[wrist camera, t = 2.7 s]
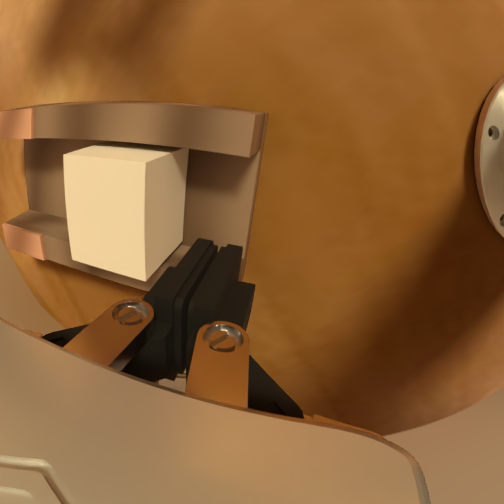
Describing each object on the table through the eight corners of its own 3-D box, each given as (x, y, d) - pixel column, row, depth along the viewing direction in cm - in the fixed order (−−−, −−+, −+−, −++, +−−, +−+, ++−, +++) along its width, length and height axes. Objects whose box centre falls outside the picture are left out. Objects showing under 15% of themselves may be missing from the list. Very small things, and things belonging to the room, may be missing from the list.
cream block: (189, 146, 17) (145, 162, 12) (182, 241, 20) (145, 281, 15) (116, 139, 17) (63, 154, 13) (117, 226, 20) (72, 259, 16)
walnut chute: (268, 113, 16) (254, 114, 13) (243, 277, 21) (226, 315, 18) (33, 105, 18) (-7, 113, 15) (39, 226, 23) (6, 246, 20)
